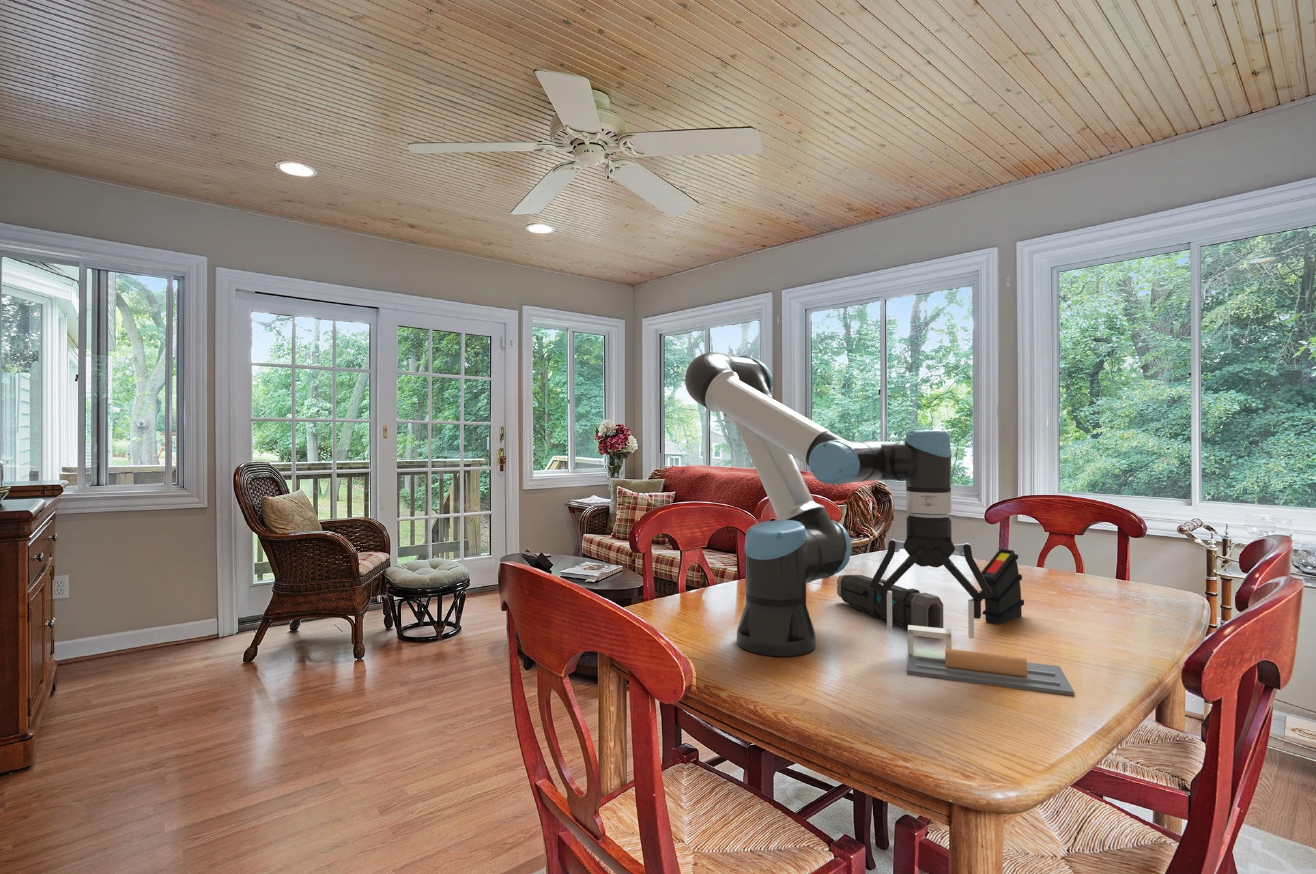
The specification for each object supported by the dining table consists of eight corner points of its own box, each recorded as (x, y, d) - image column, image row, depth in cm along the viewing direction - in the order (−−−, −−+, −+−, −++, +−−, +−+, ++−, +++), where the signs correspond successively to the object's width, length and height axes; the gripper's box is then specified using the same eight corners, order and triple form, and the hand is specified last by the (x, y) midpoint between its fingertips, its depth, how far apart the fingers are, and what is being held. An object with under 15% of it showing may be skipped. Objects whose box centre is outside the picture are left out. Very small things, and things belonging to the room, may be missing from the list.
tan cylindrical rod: (945, 672, 107) (945, 656, 106) (945, 659, 110) (945, 644, 109) (1026, 682, 102) (1027, 666, 101) (1024, 669, 105) (1025, 653, 104)
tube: (858, 612, 155) (955, 631, 127) (837, 622, 153) (930, 643, 125) (846, 569, 155) (939, 579, 128) (824, 578, 153) (915, 590, 125)
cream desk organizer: (908, 649, 117) (908, 624, 117) (951, 654, 114) (950, 629, 114) (907, 654, 114) (907, 629, 114) (951, 659, 111) (951, 634, 111)
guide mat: (907, 673, 107) (907, 667, 107) (909, 651, 118) (909, 646, 118) (1074, 695, 97) (1074, 689, 97) (1059, 669, 108) (1059, 663, 108)
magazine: (1030, 606, 142) (1016, 550, 139) (1005, 642, 135) (990, 583, 131) (1012, 603, 145) (999, 547, 142) (987, 637, 138) (972, 580, 134)
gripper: (854, 514, 116) (855, 629, 116) (1009, 520, 106) (1010, 646, 106) (859, 510, 123) (859, 618, 123) (1004, 515, 113) (1005, 633, 113)
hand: (929, 632), depth 114 cm, fingers open, 13 cm apart
